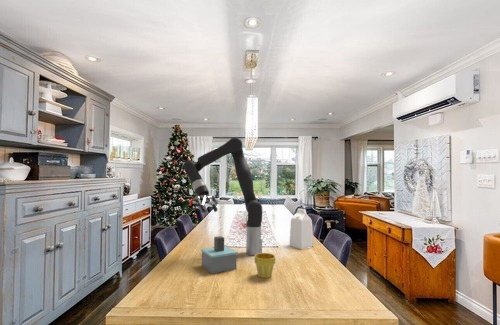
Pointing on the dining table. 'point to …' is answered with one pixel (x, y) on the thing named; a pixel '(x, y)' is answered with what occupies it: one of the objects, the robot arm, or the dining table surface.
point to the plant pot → (264, 264)
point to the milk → (301, 230)
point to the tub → (219, 263)
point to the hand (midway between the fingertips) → (210, 211)
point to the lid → (218, 249)
